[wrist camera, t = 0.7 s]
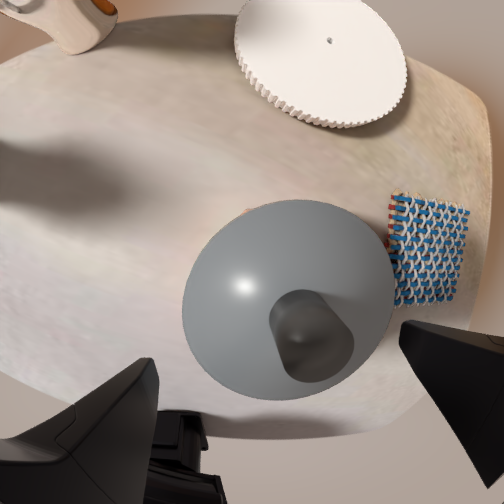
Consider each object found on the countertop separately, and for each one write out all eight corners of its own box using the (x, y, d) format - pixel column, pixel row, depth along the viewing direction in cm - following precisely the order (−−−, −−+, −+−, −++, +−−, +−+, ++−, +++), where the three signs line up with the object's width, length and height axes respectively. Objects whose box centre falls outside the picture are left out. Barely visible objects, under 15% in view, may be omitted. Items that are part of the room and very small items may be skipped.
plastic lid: (230, 123, 18) (231, 114, 16) (236, -11, 15) (238, -27, 13) (396, 142, 20) (414, 139, 17) (380, 17, 17) (393, 6, 14)
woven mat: (444, 299, 24) (455, 306, 22) (367, 304, 23) (378, 313, 21) (460, 203, 22) (474, 205, 20) (384, 186, 21) (398, 186, 19)
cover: (372, 376, 19) (400, 413, 14) (198, 399, 18) (195, 449, 13) (395, 200, 16) (445, 207, 11) (173, 205, 14) (150, 212, 10)
